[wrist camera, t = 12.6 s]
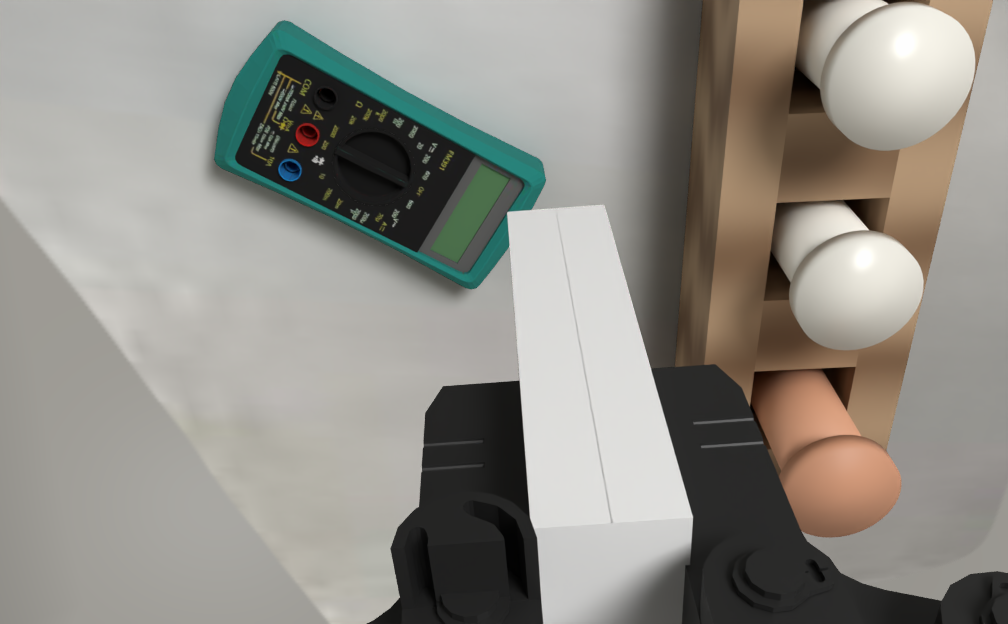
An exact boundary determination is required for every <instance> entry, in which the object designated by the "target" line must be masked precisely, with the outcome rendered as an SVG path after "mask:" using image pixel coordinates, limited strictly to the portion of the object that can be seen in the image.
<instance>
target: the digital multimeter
mask: <svg viewBox="0 0 1008 624" xmlns="http://www.w3.org/2000/svg"><path fill="white" fill-rule="evenodd" d="M297 58H298V59H297ZM299 59H300V60H299ZM301 60H302V61H301ZM303 61H304V62H303ZM310 65H311V66H310ZM312 66H313V67H312ZM314 67H315V68H314ZM316 68H317V69H316ZM323 72H324V73H323ZM272 73H273V74H272ZM325 73H326V74H325ZM327 74H328V75H327ZM329 75H330V76H329ZM331 76H332V77H331ZM334 78H335V79H334ZM336 79H337V80H336ZM338 80H339V81H338ZM340 81H341V82H340ZM342 82H343V83H342ZM347 85H348V86H347ZM349 86H350V87H349ZM351 87H352V88H351ZM353 88H354V89H353ZM355 89H356V90H355ZM360 92H361V93H360ZM362 93H363V94H362ZM364 94H365V95H364ZM366 95H367V96H366ZM373 99H374V100H373ZM375 100H376V101H375ZM377 101H378V102H377ZM379 102H380V103H379ZM384 105H385V106H384ZM386 106H387V107H386ZM388 107H389V108H388ZM390 108H391V109H390ZM255 110H256V111H255ZM397 112H398V113H397ZM399 113H400V114H399ZM401 114H402V115H401ZM403 115H404V116H403ZM410 119H411V120H410ZM412 120H413V121H412ZM414 121H415V122H414ZM416 122H417V123H416ZM423 126H424V127H423ZM425 127H426V128H425ZM368 128H371V129H368ZM427 128H428V129H427ZM361 129H362V130H361ZM429 129H430V130H429ZM358 130H359V131H358ZM384 130H385V131H384ZM434 132H435V133H434ZM391 133H392V134H391ZM436 133H437V134H436ZM244 134H245V135H244ZM393 134H394V135H393ZM438 134H439V135H438ZM440 135H441V136H440ZM346 136H347V137H346ZM399 138H400V139H399ZM447 139H448V140H447ZM449 140H450V141H449ZM451 141H452V142H451ZM453 142H454V143H453ZM339 143H340V144H339ZM405 144H406V145H405ZM460 146H461V147H460ZM462 147H463V148H462ZM464 148H465V149H464ZM473 153H474V154H473ZM333 155H334V156H333ZM214 160H215V162H216V164H217V165H218V166H219V167H220V168H222V169H224V170H226V171H229V172H231V173H233V174H236V175H238V176H240V177H243V178H245V179H247V180H250V181H252V182H254V183H257V184H259V185H261V186H264V187H266V188H268V189H270V190H273V191H275V192H277V193H279V194H282V195H284V196H286V197H288V198H290V199H293V200H295V201H297V202H299V203H301V204H303V205H306V206H308V207H310V208H312V209H314V210H317V211H319V212H321V213H323V214H325V215H327V216H330V217H332V218H334V219H336V220H338V221H340V222H342V223H344V224H346V225H348V226H350V227H352V228H354V229H356V230H358V231H360V232H362V233H364V234H366V235H368V236H370V237H372V238H374V239H376V240H378V241H380V242H382V243H384V244H386V245H388V246H390V247H392V248H394V249H395V250H397V251H399V252H401V253H403V254H405V255H407V256H408V257H410V258H412V259H414V260H416V261H418V262H419V263H421V264H423V265H425V266H427V267H428V268H430V269H432V270H434V271H436V272H437V273H439V274H441V275H443V276H445V277H447V278H448V279H450V280H452V281H454V282H456V283H457V284H459V285H461V286H463V287H465V288H467V289H474V288H477V287H478V286H479V285H480V284H481V283H482V281H483V280H484V279H485V278H486V276H487V275H488V274H489V273H490V271H491V270H492V269H493V268H494V266H495V265H496V264H497V262H498V261H499V260H500V258H501V257H502V256H503V254H504V253H505V251H506V250H507V249H508V247H509V232H508V218H507V212H512V211H525V210H532V208H533V206H534V204H535V202H536V200H537V198H538V196H539V194H540V193H541V191H542V189H543V187H544V185H545V182H546V178H545V173H544V168H543V164H542V162H541V161H540V160H539V159H538V158H536V157H534V156H532V155H530V154H528V153H526V152H524V151H522V150H520V149H517V148H515V147H513V146H511V145H509V144H507V143H505V142H503V141H501V140H499V139H497V138H495V137H493V136H491V135H489V134H487V133H485V132H483V131H481V130H479V129H477V128H475V127H473V126H471V125H468V124H466V123H465V122H463V121H461V120H459V119H457V118H455V117H453V116H451V115H450V114H448V113H446V112H444V111H442V110H440V109H438V108H436V107H435V106H433V105H431V104H429V103H427V102H425V101H423V100H421V99H419V98H418V97H416V96H414V95H412V94H410V93H408V92H406V91H405V90H403V89H401V88H399V87H398V86H396V85H394V84H393V83H391V82H389V81H387V80H386V79H384V78H382V77H381V76H379V75H377V74H376V73H374V72H372V71H370V70H369V69H367V68H365V67H364V66H362V65H360V64H358V63H357V62H355V61H353V60H352V59H350V58H348V57H346V56H345V55H343V54H341V53H340V52H338V51H337V50H335V49H333V48H332V47H330V46H328V45H327V44H325V43H324V42H322V41H320V40H319V39H317V38H315V37H314V36H312V35H311V34H309V33H307V32H306V31H304V30H302V29H301V28H299V27H298V26H296V25H294V24H293V23H291V22H288V21H281V22H278V23H277V25H276V26H275V27H274V28H273V29H272V31H271V32H270V33H269V34H268V35H267V37H266V38H265V39H264V40H263V42H262V43H261V44H260V45H259V46H258V48H257V49H256V50H255V51H254V53H253V54H252V55H251V56H250V58H249V59H248V61H247V62H246V64H245V65H244V67H243V68H242V70H241V71H240V73H239V74H238V76H237V77H236V79H235V81H234V83H233V85H232V87H231V90H230V92H229V94H228V97H227V99H226V101H225V104H224V108H223V112H222V116H221V120H220V124H219V129H218V136H217V143H216V150H215V157H214ZM414 164H415V165H414ZM334 177H335V178H334ZM338 185H339V186H338ZM410 186H411V187H410ZM523 186H524V187H523ZM521 189H522V190H521ZM519 192H520V193H519ZM399 198H400V199H399ZM394 201H395V202H394ZM386 204H387V205H386ZM371 205H373V206H371ZM379 205H381V206H379Z"/></svg>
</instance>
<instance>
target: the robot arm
mask: <svg viewBox="0 0 1008 624" xmlns="http://www.w3.org/2000/svg"><path fill="white" fill-rule="evenodd" d="M507 218H508V232H509V246H510V259H511V273H512V287H513V301H514V315H515V329H516V343H517V357H518V370H519V381H510V382H496V383H482V384H468V385H454V386H443V387H442V389H441V390H440V392H439V393H438V395H437V396H436V398H435V399H434V401H433V402H432V404H431V405H430V407H429V408H428V410H427V411H426V413H425V428H424V448H423V457H422V472H421V487H420V502H419V507H418V508H416V509H415V510H414V511H413V512H412V513H411V514H410V515H409V516H408V517H407V518H406V519H405V520H404V522H403V523H402V524H401V525H400V526H399V527H398V529H397V532H396V535H395V537H394V540H393V543H392V546H391V553H392V559H393V564H394V569H395V574H396V579H397V584H398V590H399V595H400V598H399V599H398V600H397V601H396V603H395V604H394V605H393V606H392V607H391V608H390V609H389V610H387V611H386V612H385V613H383V614H382V615H380V616H379V617H378V618H376V619H375V620H374V621H372V622H369V623H367V624H1008V573H1004V572H998V571H997V572H987V573H977V574H970V575H968V576H966V577H964V578H963V579H961V580H959V581H957V582H955V583H953V584H952V585H950V587H949V589H948V591H947V593H946V594H945V596H944V598H943V600H942V601H939V600H934V599H929V598H923V597H919V596H914V595H908V594H903V593H898V592H893V591H887V590H883V589H880V588H876V587H873V586H869V585H866V584H862V583H860V582H858V581H856V580H854V579H852V578H850V577H848V576H845V575H843V574H841V573H840V572H839V571H838V569H837V568H836V566H835V565H834V563H833V562H832V561H831V559H830V558H829V557H828V556H827V555H825V554H824V553H822V552H821V551H820V550H818V549H817V548H815V547H814V546H813V545H811V544H810V543H809V542H807V540H806V539H805V537H804V535H803V534H802V532H801V529H800V527H799V524H798V522H797V520H796V517H795V515H794V512H793V510H792V508H791V505H790V503H789V500H788V498H787V496H786V493H785V491H784V488H783V486H782V483H781V481H780V479H779V476H778V474H777V471H776V469H775V467H774V464H773V462H772V459H771V457H770V455H769V452H768V450H767V447H766V445H764V444H763V438H762V435H761V433H760V430H759V428H758V426H757V423H756V422H754V418H753V414H752V411H751V409H750V406H749V404H748V402H747V399H746V397H745V394H744V392H743V389H742V387H741V386H739V385H738V384H737V383H736V382H735V381H734V380H733V379H732V378H730V377H729V376H728V375H727V374H726V373H725V372H724V371H723V370H721V369H720V368H719V367H718V366H717V365H716V364H710V365H696V366H682V367H668V368H654V369H651V368H650V364H649V360H648V357H647V353H646V350H645V346H644V343H643V339H642V336H641V332H640V329H639V325H638V322H637V318H636V315H635V311H634V308H633V304H632V301H631V297H630V294H629V290H628V286H627V283H626V279H625V276H624V272H623V269H622V265H621V262H620V258H619V255H618V251H617V248H616V244H615V241H614V237H613V234H612V230H611V227H610V223H609V220H608V216H607V212H606V209H605V205H593V206H579V207H566V208H552V209H539V210H525V211H512V212H507Z"/></svg>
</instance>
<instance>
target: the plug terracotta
mask: <svg viewBox="0 0 1008 624" xmlns="http://www.w3.org/2000/svg"><path fill="white" fill-rule="evenodd" d="M750 402H751V404H752V406H753V409H754V411H755V413H756V415H757V418H758V420H759V422H760V424H761V427H762V429H763V431H764V433H765V436H766V438H767V440H768V442H769V445H770V447H771V449H772V451H773V454H774V456H775V458H776V460H777V462H778V465H779V467H780V469H781V473H780V475H779V479H780V481H781V483H782V486H783V488H784V491H785V493H786V496H787V498H788V500H789V503H790V505H791V508H792V510H793V512H794V515H795V517H796V520H797V522H798V524H799V527H800V529H801V531H803V532H805V533H807V534H810V535H814V536H818V537H841V536H846V535H850V534H854V533H857V532H860V531H862V530H864V529H866V528H868V527H870V526H872V525H874V524H875V523H877V522H878V521H879V520H881V519H882V518H883V517H884V516H885V515H886V514H887V513H888V512H889V511H890V510H891V509H892V508H893V506H894V505H895V503H896V501H897V499H898V497H899V494H900V490H901V477H900V474H899V471H898V469H897V468H896V466H895V464H894V463H893V461H892V459H891V458H890V456H889V455H888V453H887V451H886V450H885V449H884V448H883V447H882V446H881V445H880V444H878V443H877V442H875V441H873V440H871V439H869V438H866V437H862V436H861V434H860V433H859V431H858V429H857V428H856V426H855V424H854V422H853V421H852V419H851V417H850V416H849V414H848V412H847V411H846V409H845V407H844V406H843V404H842V402H841V400H840V399H839V397H838V395H837V394H836V392H835V390H834V389H833V387H832V385H831V383H830V382H829V380H828V378H827V377H826V375H825V373H824V372H823V370H822V368H817V369H796V370H776V371H755V372H754V378H753V386H752V393H751V401H750Z"/></svg>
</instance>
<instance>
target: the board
mask: <svg viewBox="0 0 1008 624" xmlns="http://www.w3.org/2000/svg"><path fill="white" fill-rule="evenodd" d="M882 1H884V2H886V3H888V4H892V3H897V2H917V3H923V4H926V5H929V6H932V7H934V8H935V9H937V10H939V11H941V12H943V13H945V14H947V15H949V16H951V17H952V18H954V19H955V20H956V21H958V22H959V23H960V24H961V25H962V26H963V28H964V29H965V30H966V32H967V33H968V35H969V37H970V39H971V42H972V44H973V48H974V52H975V73H974V78H975V74H976V70H977V66H978V62H979V57H980V53H981V49H982V45H983V41H984V36H985V32H986V28H987V24H988V20H989V15H990V11H991V7H992V3H993V0H882ZM802 8H803V0H703V3H702V16H701V29H700V43H699V56H698V69H697V82H696V95H695V108H694V121H693V134H692V147H691V161H690V174H689V187H688V200H687V213H686V226H685V239H684V252H683V265H682V278H681V292H680V305H679V318H678V331H677V344H676V357H675V367H682V366H696V365H710V364H716V365H717V366H718V367H719V368H720V369H721V370H723V371H724V372H725V373H726V374H727V375H728V376H729V377H730V378H732V379H733V380H734V381H735V382H736V383H737V384H738V385H739V386H741V387H742V389H743V392H744V394H745V397H746V399H747V402H748V404H749V406H750V409H751V411H752V414H753V418H754V422H756V423H757V426H758V428H759V430H760V433H761V435H762V438H763V444H764V445H766V447H767V450H768V452H769V455H770V457H771V459H772V462H773V464H774V467H775V469H776V471H777V474H778V476H779V475H780V473H781V469H780V467H779V465H778V462H777V460H776V458H775V456H774V454H773V451H772V449H771V447H770V445H769V442H768V440H767V438H766V436H765V433H764V431H763V429H762V427H761V424H760V422H759V420H758V418H757V415H756V413H755V411H754V409H753V406H752V404H751V402H750V401H751V393H752V386H753V378H754V372H755V371H776V370H796V369H817V368H822V370H823V372H824V373H825V375H826V377H827V378H828V380H829V382H830V383H831V385H832V387H833V389H834V390H835V392H836V394H837V395H838V397H839V399H840V400H841V402H842V404H843V406H844V407H845V409H846V411H847V412H848V414H849V416H850V417H851V419H852V421H853V422H854V424H855V426H856V428H857V429H858V431H859V433H860V434H861V436H862V437H866V438H869V439H871V440H873V441H875V442H877V443H878V444H880V445H881V446H882V447H883V448H884V449H885V450H886V449H887V445H888V441H889V436H890V432H891V428H892V424H893V419H894V415H895V411H896V407H897V403H898V398H899V394H900V390H901V386H902V382H903V377H904V373H905V369H906V365H907V361H908V356H909V352H910V348H911V344H912V339H913V335H914V331H915V327H916V323H917V318H918V314H919V310H920V306H921V302H922V297H923V294H922V297H921V301H920V303H919V305H918V308H917V309H916V311H915V313H914V314H913V316H912V317H911V318H910V320H909V321H908V322H907V323H906V324H905V325H904V326H903V327H902V328H901V329H900V330H899V331H898V332H896V333H895V334H894V335H892V336H891V337H889V338H888V339H886V340H884V341H882V342H880V343H878V344H875V345H873V346H870V347H866V348H862V349H857V350H835V349H831V348H827V347H824V346H822V345H820V344H818V343H816V342H814V341H813V340H812V339H810V338H809V337H808V336H807V335H806V333H805V332H804V331H803V329H802V328H801V326H800V324H799V323H798V321H797V319H796V318H795V316H794V314H793V312H792V310H791V306H790V302H789V289H790V284H791V282H790V281H789V279H788V278H787V276H786V274H785V273H784V271H783V270H782V268H781V266H780V265H779V263H778V262H777V260H776V258H775V257H774V255H773V254H772V252H771V242H772V235H773V227H774V219H775V212H776V204H777V203H783V202H805V201H826V200H843V201H844V202H845V203H846V204H847V205H848V206H849V208H850V209H851V210H852V211H853V212H854V213H855V214H856V216H857V217H858V218H859V219H860V220H861V221H862V222H863V224H864V225H865V226H866V227H867V228H868V229H869V230H870V231H877V232H881V233H885V234H887V235H889V236H891V237H893V238H895V239H896V240H898V241H899V242H900V243H901V244H902V245H903V246H904V247H905V248H906V249H907V250H908V251H909V252H910V254H911V255H912V256H913V257H914V258H915V259H916V261H917V262H918V264H919V266H920V268H921V271H922V274H923V280H924V284H923V293H924V289H925V285H926V281H927V276H928V272H929V268H930V264H931V259H932V255H933V251H934V247H935V243H936V238H937V234H938V230H939V226H940V222H941V217H942V213H943V209H944V205H945V201H946V196H947V192H948V188H949V184H950V180H951V175H952V171H953V167H954V163H955V158H956V154H957V150H958V146H959V142H960V137H961V133H962V129H963V125H964V121H965V116H966V112H967V108H968V104H969V100H970V95H971V91H972V87H973V83H974V78H973V82H972V85H971V89H970V91H969V93H968V95H967V98H966V99H965V101H964V103H963V105H962V106H961V108H960V109H959V111H958V112H957V113H956V115H955V116H954V117H953V118H952V119H951V120H950V121H949V122H948V123H947V124H946V125H945V126H944V127H943V128H942V129H941V130H939V131H938V132H937V133H935V134H934V135H933V136H931V137H929V138H928V139H926V140H924V141H922V142H920V143H918V144H916V145H913V146H910V147H907V148H903V149H898V150H890V151H881V150H873V149H869V148H865V147H862V146H860V145H858V144H856V143H854V142H853V141H851V140H850V139H848V138H847V137H846V136H845V135H844V134H843V133H842V132H841V131H840V130H839V129H838V128H837V127H836V126H835V125H834V124H833V123H832V122H831V120H830V119H829V118H828V116H827V114H826V112H825V110H824V107H823V104H822V100H821V95H820V89H819V88H818V87H817V86H816V85H815V84H814V83H813V82H812V81H810V80H809V79H808V78H807V77H806V76H805V75H804V74H803V73H802V72H801V71H794V68H795V61H796V53H797V46H798V38H799V30H800V23H801V15H802Z"/></svg>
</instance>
